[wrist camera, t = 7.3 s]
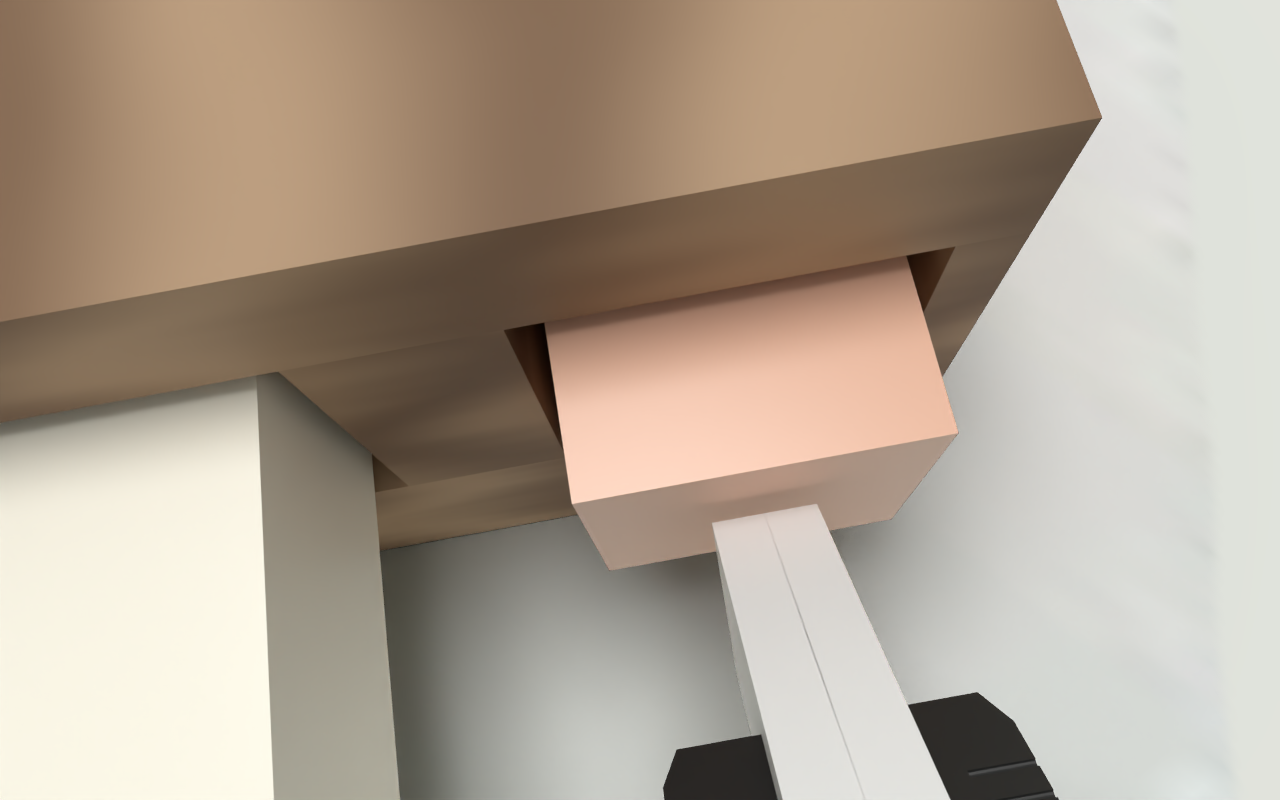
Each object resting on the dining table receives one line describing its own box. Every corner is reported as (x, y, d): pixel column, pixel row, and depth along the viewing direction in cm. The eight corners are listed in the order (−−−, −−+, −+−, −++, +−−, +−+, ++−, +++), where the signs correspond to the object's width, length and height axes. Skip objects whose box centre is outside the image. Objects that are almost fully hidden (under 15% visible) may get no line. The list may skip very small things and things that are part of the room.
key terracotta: (609, 570, 17) (571, 503, 13) (540, 139, 20) (488, -44, 16) (891, 519, 17) (958, 433, 13) (780, 94, 20) (801, -102, 16)
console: (-216, 660, 23) (-1265, 555, 11) (-162, 212, 27) (-880, -232, 15) (892, 456, 23) (1102, 117, 11) (780, 36, 27) (837, -559, 15)
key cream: (100, 995, 16) (-161, 1099, 11) (107, 456, 19) (-95, 357, 14) (411, 939, 16) (282, 1019, 11) (367, 408, 19) (253, 293, 14)
